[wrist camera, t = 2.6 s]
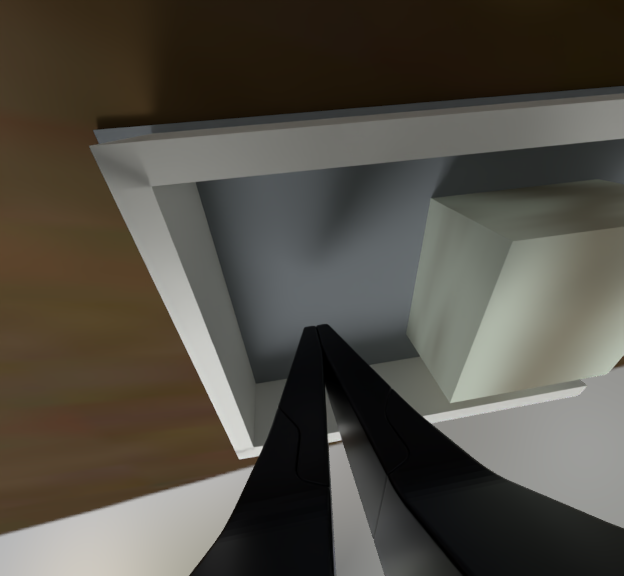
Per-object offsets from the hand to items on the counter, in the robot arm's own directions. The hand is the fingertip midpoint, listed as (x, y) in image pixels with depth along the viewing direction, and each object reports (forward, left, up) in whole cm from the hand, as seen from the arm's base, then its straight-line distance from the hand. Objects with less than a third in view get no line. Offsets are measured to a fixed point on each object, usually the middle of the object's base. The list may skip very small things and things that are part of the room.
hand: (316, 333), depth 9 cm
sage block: (-8, 0, -3) cm, 9 cm away
